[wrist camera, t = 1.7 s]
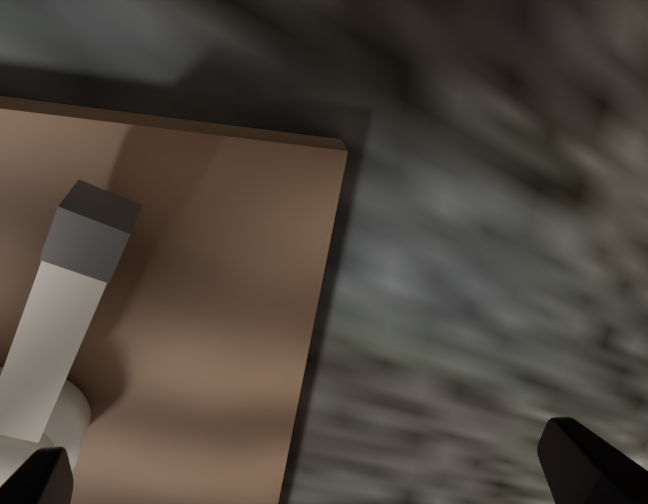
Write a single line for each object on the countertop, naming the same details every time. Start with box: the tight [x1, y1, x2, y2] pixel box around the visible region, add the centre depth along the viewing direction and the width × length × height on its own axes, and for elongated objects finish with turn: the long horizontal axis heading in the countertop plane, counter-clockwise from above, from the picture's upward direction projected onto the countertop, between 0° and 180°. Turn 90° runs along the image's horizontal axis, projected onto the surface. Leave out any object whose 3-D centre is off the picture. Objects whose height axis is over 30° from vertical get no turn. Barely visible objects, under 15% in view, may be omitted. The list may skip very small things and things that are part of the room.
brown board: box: [0, 96, 348, 504], centre depth 19 cm, size 22×20×1 cm
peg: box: [0, 179, 142, 486], centre depth 15 cm, size 12×4×3 cm, turn 150°
